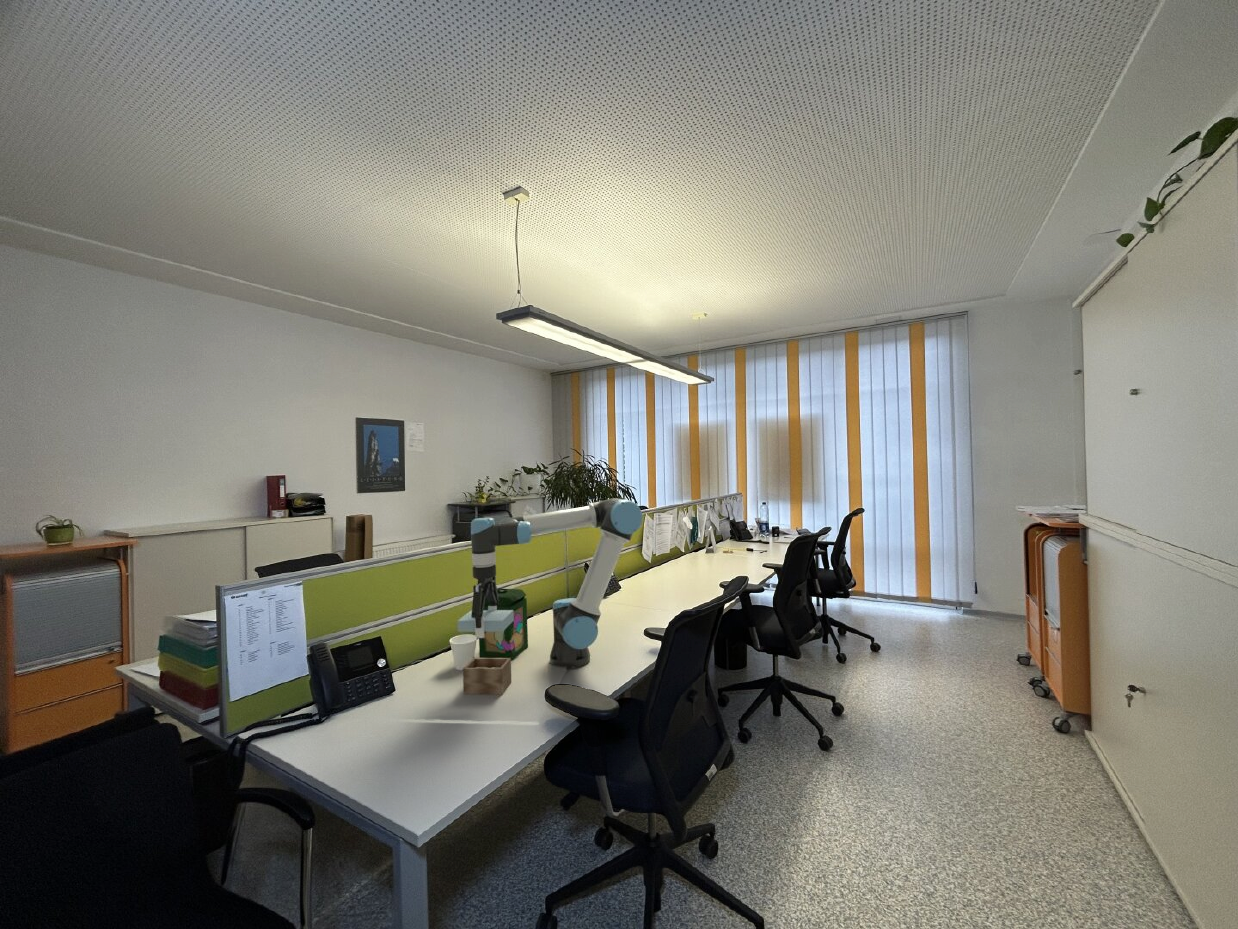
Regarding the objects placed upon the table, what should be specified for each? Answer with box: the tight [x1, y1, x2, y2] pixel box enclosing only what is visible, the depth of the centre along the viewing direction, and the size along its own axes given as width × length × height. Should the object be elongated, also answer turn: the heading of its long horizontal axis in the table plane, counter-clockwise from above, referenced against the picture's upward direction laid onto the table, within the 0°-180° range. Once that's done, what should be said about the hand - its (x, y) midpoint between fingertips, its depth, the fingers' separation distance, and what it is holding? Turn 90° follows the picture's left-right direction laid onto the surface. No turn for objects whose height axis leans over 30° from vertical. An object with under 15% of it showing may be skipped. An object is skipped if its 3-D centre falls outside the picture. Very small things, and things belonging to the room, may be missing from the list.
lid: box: [456, 609, 514, 633], centre depth 163 cm, size 15×11×4 cm
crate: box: [462, 657, 513, 696], centre depth 163 cm, size 13×9×9 cm
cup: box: [449, 633, 478, 671], centre depth 182 cm, size 10×10×11 cm
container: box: [478, 587, 529, 662], centre depth 196 cm, size 15×18×25 cm
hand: (486, 631), depth 163 cm, fingers closed on lid, 11 cm apart
